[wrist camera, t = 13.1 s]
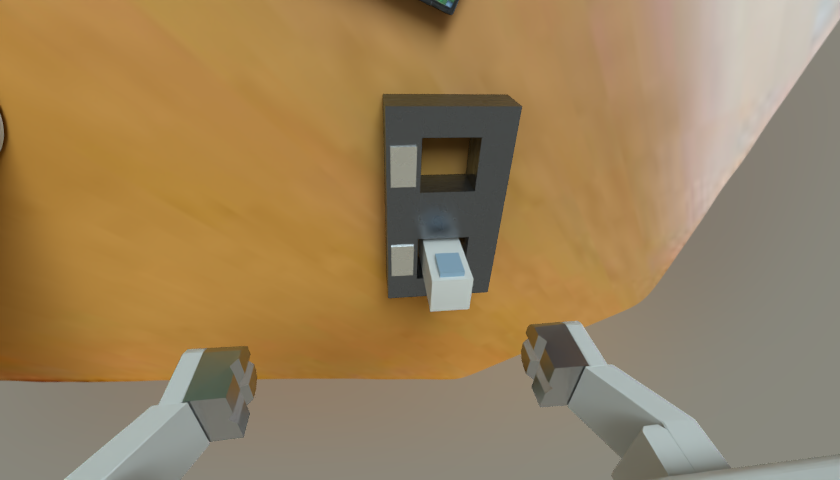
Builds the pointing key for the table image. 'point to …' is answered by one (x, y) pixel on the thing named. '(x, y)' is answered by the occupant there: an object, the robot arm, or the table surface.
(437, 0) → the disk drive
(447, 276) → the plug
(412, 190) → the panel
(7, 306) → the table surface
